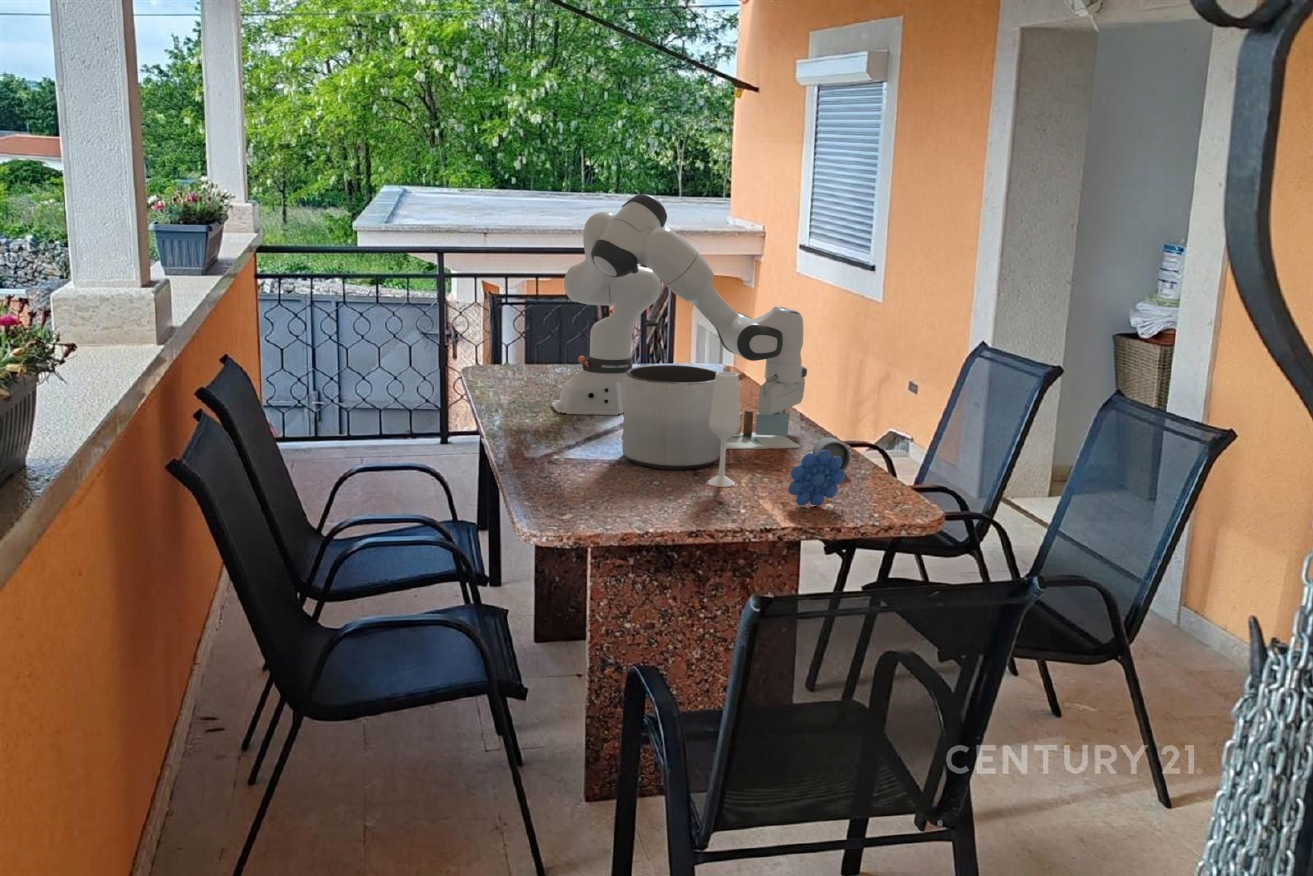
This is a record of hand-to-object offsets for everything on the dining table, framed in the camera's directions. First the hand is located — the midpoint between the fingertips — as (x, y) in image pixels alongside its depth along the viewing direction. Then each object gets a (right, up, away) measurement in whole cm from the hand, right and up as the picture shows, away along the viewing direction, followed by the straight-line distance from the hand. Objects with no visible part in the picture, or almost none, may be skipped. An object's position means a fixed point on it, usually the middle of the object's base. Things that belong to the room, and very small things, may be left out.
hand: (778, 426), depth 308 cm
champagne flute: (-17, -13, -45) cm, 50 cm away
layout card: (-8, -4, -6) cm, 11 cm away
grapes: (+1, -17, -58) cm, 61 cm away
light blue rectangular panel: (-2, -2, -3) cm, 4 cm away
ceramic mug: (+7, -11, -31) cm, 33 cm away
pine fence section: (-13, -3, -4) cm, 14 cm away
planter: (-27, -8, -26) cm, 39 cm away
